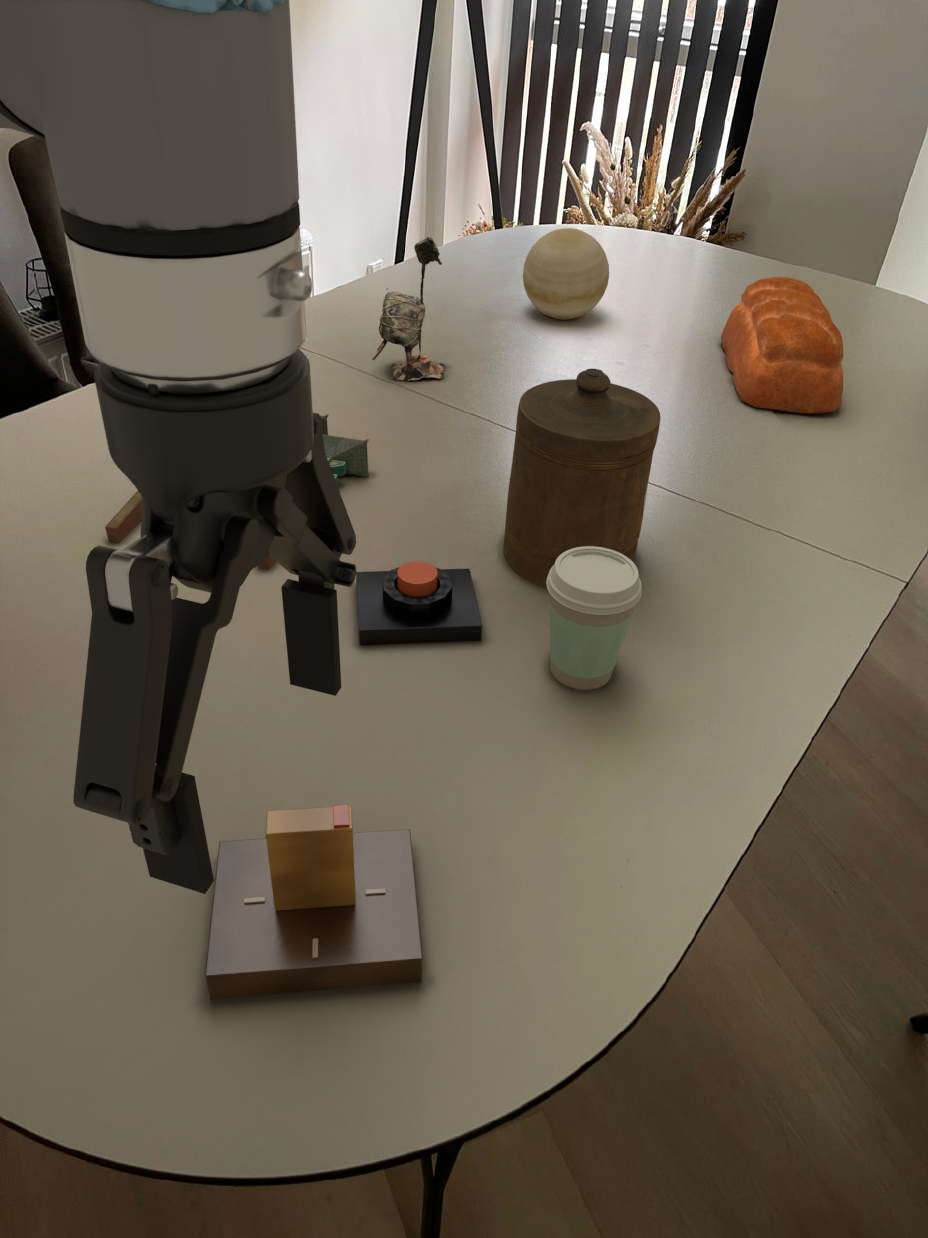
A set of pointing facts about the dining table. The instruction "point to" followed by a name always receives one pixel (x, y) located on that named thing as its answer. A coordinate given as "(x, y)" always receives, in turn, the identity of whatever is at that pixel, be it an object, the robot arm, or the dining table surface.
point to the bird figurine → (409, 323)
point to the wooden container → (577, 471)
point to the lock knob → (311, 857)
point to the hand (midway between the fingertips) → (256, 772)
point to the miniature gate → (338, 450)
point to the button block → (417, 610)
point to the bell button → (417, 579)
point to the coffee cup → (589, 613)
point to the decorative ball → (566, 273)
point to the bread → (784, 348)
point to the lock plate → (314, 925)
